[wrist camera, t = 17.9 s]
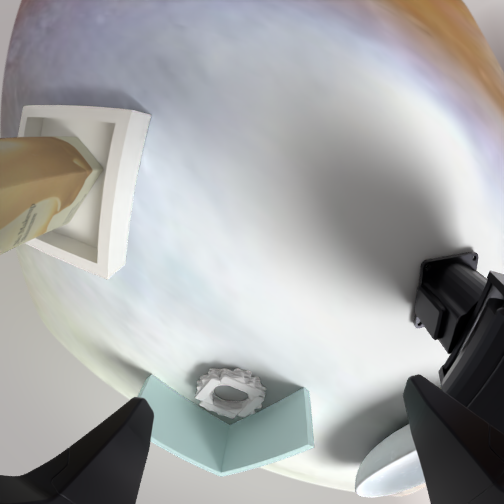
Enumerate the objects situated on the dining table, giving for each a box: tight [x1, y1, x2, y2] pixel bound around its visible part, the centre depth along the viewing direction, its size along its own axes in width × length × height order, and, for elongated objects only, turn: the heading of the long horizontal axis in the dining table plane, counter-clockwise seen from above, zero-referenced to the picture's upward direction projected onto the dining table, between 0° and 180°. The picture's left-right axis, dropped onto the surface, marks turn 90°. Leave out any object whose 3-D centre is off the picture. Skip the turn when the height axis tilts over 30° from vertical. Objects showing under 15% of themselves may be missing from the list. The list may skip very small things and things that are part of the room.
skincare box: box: [0, 136, 103, 255], centre depth 12 cm, size 6×4×12 cm
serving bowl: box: [355, 424, 425, 497], centre depth 25 cm, size 21×21×7 cm
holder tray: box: [18, 105, 151, 280], centre depth 17 cm, size 12×12×3 cm
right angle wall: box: [138, 368, 314, 477], centre depth 22 cm, size 12×12×8 cm
